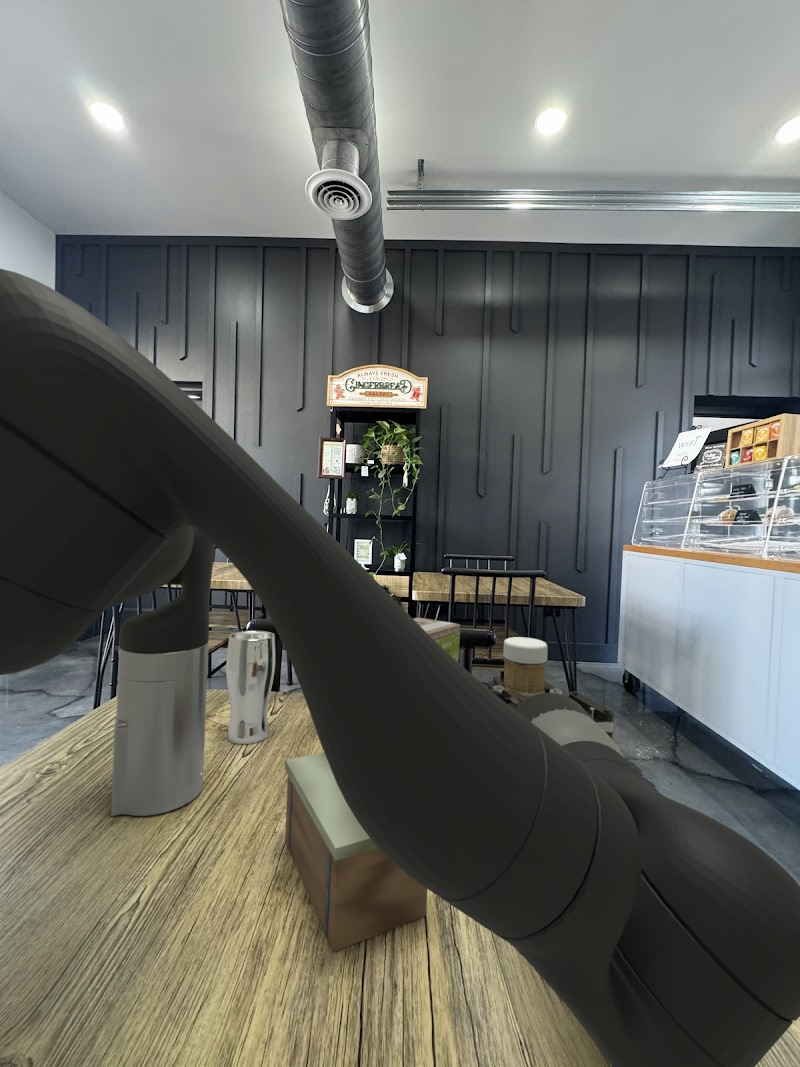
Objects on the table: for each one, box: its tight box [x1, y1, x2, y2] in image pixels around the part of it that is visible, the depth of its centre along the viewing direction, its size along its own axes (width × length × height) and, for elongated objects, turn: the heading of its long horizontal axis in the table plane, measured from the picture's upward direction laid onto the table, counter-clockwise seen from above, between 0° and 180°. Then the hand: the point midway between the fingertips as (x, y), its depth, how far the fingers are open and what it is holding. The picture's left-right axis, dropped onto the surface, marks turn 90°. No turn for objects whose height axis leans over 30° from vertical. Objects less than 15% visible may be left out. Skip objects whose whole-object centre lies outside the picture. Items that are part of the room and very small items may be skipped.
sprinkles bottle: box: [502, 636, 548, 697], centre depth 51 cm, size 5×5×14 cm
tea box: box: [412, 617, 461, 663], centre depth 86 cm, size 15×10×15 cm
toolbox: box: [284, 752, 428, 953], centre depth 43 cm, size 8×15×9 cm, turn 28°
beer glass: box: [225, 630, 276, 745], centre depth 71 cm, size 7×7×15 cm
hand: (518, 687), depth 54 cm, fingers closed on sprinkles bottle, 4 cm apart
